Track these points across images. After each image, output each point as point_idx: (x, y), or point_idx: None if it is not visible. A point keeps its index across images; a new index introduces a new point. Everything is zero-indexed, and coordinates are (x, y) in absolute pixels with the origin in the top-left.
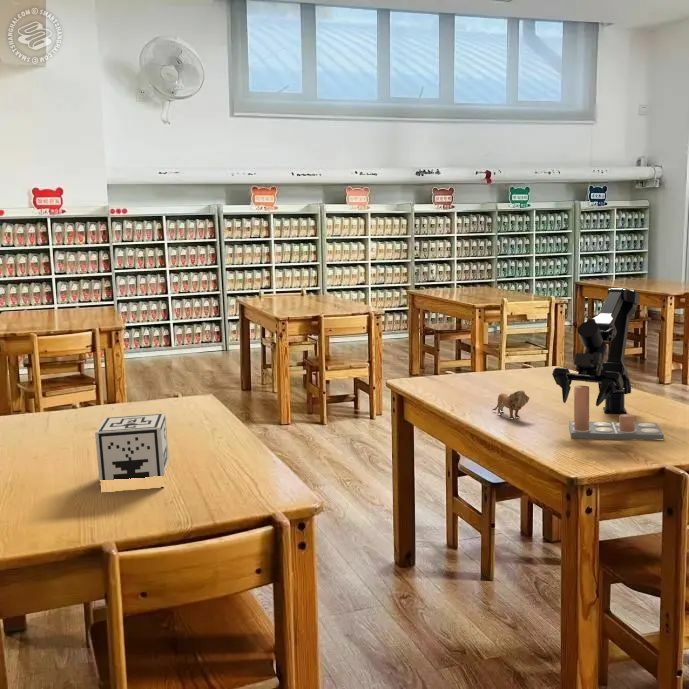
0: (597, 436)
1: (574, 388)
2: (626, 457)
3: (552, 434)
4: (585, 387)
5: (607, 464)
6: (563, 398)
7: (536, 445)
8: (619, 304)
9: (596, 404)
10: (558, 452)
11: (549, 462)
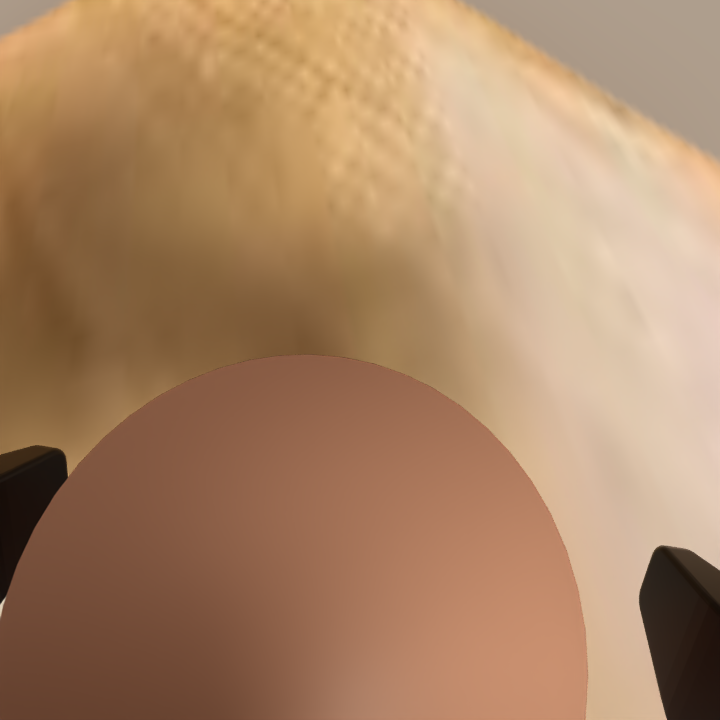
0: None
1: (527, 499)
2: (29, 167)
3: (607, 560)
4: (141, 574)
5: (140, 50)
6: (712, 573)
7: (593, 229)
8: None
9: (53, 450)
10: (417, 144)
11: (417, 7)
